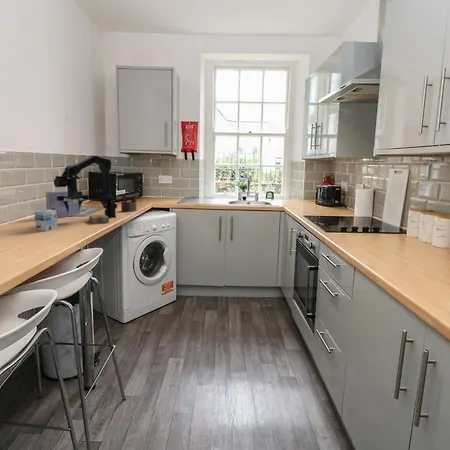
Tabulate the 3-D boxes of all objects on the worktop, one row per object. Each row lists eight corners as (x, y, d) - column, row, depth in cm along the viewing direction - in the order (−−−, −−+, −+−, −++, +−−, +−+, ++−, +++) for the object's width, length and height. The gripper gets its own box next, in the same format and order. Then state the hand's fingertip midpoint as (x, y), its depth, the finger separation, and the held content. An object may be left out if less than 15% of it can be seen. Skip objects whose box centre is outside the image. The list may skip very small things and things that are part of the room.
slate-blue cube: (77, 212, 235) (77, 203, 234) (79, 213, 230) (79, 204, 229) (67, 213, 231) (67, 203, 230) (69, 214, 227) (68, 204, 225)
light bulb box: (45, 231, 203) (44, 212, 201) (35, 230, 204) (33, 211, 202) (58, 227, 213) (57, 209, 211) (48, 227, 215) (46, 209, 213)
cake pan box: (72, 214, 259) (71, 190, 256) (76, 215, 256) (75, 190, 253) (46, 218, 243) (44, 191, 240) (50, 219, 241) (48, 192, 237)
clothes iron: (142, 209, 292) (142, 192, 290) (128, 212, 278) (128, 194, 276) (134, 208, 296) (134, 192, 293) (120, 211, 282) (120, 193, 279)
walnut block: (105, 220, 241) (105, 214, 241) (109, 223, 233) (108, 217, 232) (89, 221, 236) (89, 215, 236) (92, 224, 228) (92, 218, 227)
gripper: (58, 188, 216) (59, 214, 219) (90, 187, 226) (91, 212, 229) (55, 186, 225) (56, 211, 228) (86, 185, 235) (87, 209, 238)
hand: (73, 211), depth 230 cm, fingers closed on slate-blue cube, 6 cm apart
